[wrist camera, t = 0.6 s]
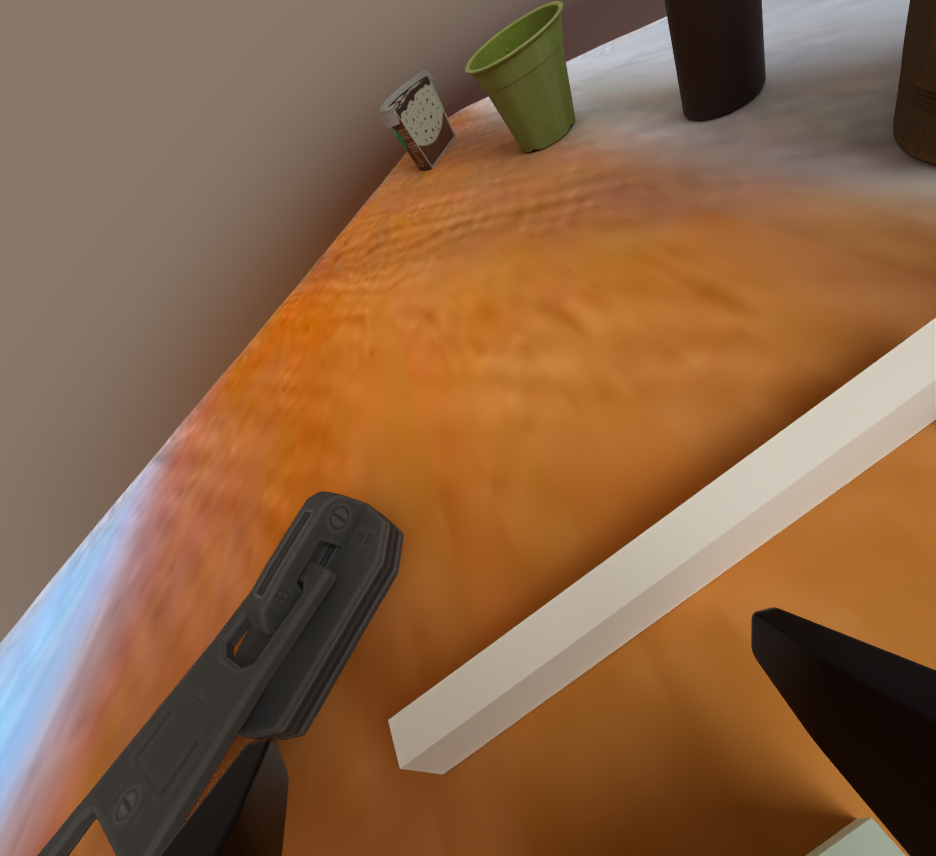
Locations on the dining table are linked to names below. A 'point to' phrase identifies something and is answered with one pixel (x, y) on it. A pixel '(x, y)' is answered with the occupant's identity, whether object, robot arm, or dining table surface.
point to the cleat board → (673, 558)
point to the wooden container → (918, 84)
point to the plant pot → (528, 77)
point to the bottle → (716, 54)
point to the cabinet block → (858, 841)
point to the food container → (419, 120)
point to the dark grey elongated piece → (249, 674)
